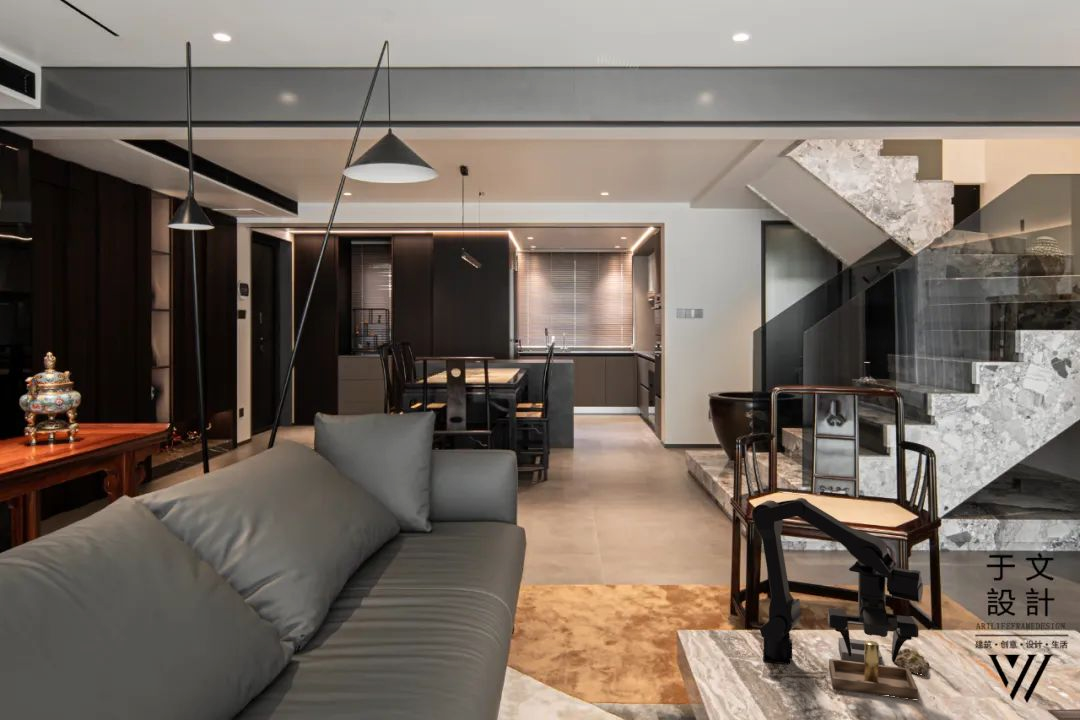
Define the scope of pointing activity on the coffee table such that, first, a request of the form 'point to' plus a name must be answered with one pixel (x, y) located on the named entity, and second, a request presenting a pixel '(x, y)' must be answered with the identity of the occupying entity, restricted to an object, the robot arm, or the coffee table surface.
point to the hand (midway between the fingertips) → (871, 658)
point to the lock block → (854, 651)
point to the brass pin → (871, 661)
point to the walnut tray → (889, 682)
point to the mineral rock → (912, 661)
